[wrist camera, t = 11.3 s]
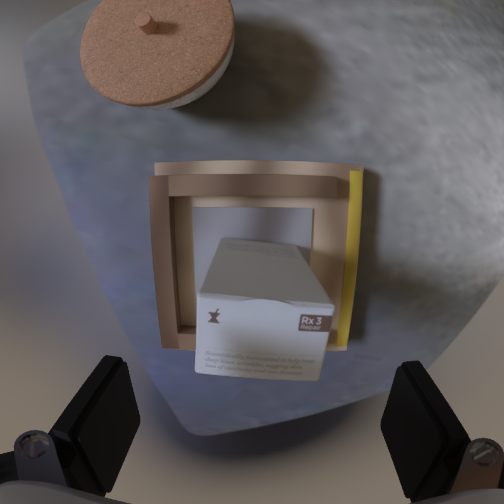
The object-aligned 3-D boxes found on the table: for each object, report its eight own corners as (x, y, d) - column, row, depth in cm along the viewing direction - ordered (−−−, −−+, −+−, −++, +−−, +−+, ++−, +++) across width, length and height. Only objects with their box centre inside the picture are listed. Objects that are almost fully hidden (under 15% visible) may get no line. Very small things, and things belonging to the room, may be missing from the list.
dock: (354, 165, 26) (370, 165, 22) (340, 336, 30) (350, 359, 26) (163, 163, 26) (148, 162, 22) (173, 335, 30) (163, 357, 26)
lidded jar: (259, 91, 24) (260, 54, 15) (141, 140, 26) (89, 131, 16) (215, -5, 22) (200, -64, 13) (107, 43, 23) (56, 6, 14)
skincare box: (216, 288, 26) (187, 380, 14) (220, 232, 25) (188, 292, 13) (293, 295, 26) (318, 390, 14) (300, 240, 25) (338, 306, 13)
